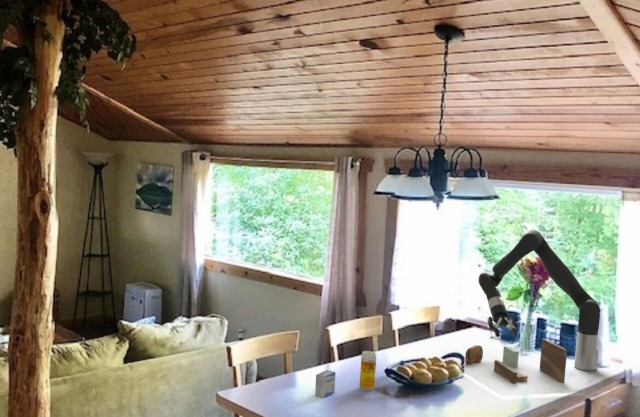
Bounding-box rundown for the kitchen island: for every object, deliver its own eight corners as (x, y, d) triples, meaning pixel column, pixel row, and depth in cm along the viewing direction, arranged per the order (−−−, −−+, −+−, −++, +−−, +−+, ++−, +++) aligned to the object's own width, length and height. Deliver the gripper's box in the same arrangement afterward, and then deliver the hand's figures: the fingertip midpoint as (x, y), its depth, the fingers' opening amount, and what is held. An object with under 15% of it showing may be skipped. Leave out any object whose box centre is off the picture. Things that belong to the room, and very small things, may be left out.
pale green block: (508, 362, 324) (509, 346, 323) (517, 368, 315) (518, 351, 314) (502, 362, 323) (503, 346, 323) (511, 368, 314) (513, 351, 314)
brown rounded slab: (469, 368, 312) (470, 350, 312) (463, 366, 314) (464, 348, 314) (482, 361, 324) (484, 344, 324) (476, 360, 326) (478, 343, 326)
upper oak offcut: (510, 372, 304) (510, 367, 304) (527, 380, 293) (527, 376, 293) (501, 372, 303) (501, 368, 303) (517, 381, 292) (518, 377, 291)
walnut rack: (542, 372, 312) (545, 338, 311) (564, 385, 294) (567, 349, 293) (493, 373, 306) (496, 338, 305) (512, 386, 289) (515, 349, 288)
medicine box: (324, 398, 261) (325, 376, 260) (314, 395, 263) (315, 374, 262) (334, 393, 267) (335, 371, 267) (325, 390, 270) (326, 369, 269)
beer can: (364, 391, 271) (366, 355, 270) (356, 386, 276) (358, 351, 275) (377, 390, 274) (379, 354, 273) (369, 385, 279) (371, 349, 278)
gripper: (487, 303, 329) (496, 332, 319) (513, 303, 332) (523, 332, 322) (481, 311, 335) (490, 340, 324) (507, 312, 338) (517, 340, 328)
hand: (506, 336), depth 323 cm, fingers open, 8 cm apart
